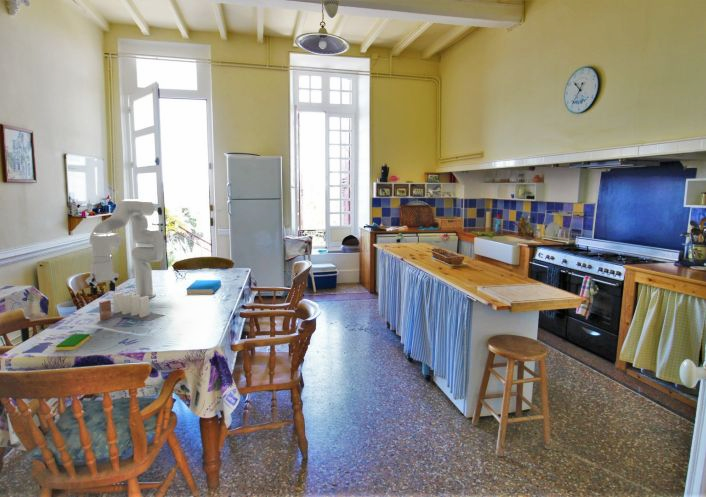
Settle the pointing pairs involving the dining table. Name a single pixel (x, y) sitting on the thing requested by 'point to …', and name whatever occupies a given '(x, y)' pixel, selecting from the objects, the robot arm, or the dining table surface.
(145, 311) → the domino
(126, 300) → the domino
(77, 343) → the dish sponge
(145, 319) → the mat
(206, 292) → the book
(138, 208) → the robot arm
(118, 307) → the domino
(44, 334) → the dining table surface
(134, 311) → the domino
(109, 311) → the domino
